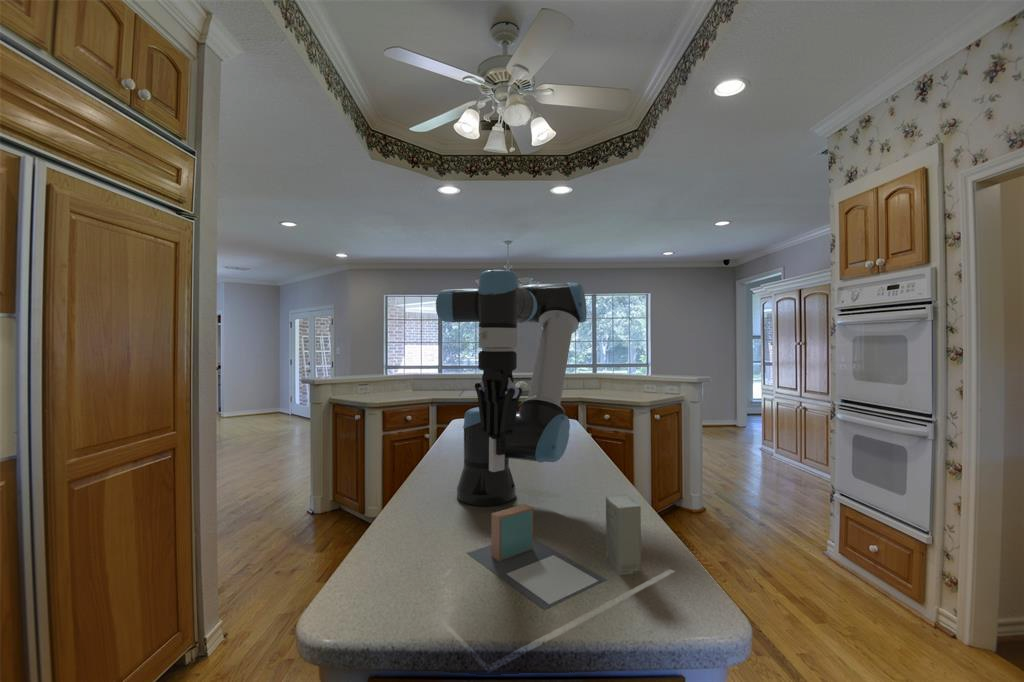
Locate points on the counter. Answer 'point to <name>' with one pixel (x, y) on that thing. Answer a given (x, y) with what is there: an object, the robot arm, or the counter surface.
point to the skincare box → (623, 534)
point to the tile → (511, 532)
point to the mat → (540, 574)
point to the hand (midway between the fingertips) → (496, 470)
